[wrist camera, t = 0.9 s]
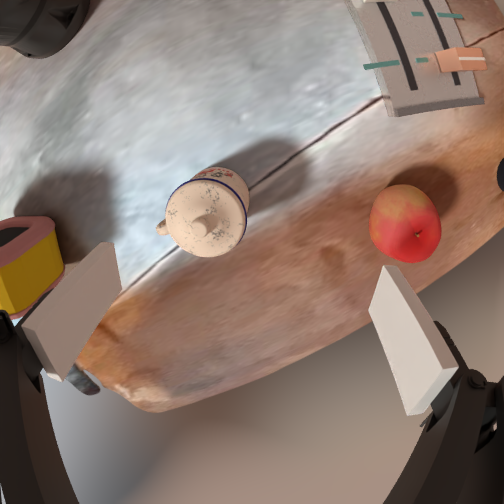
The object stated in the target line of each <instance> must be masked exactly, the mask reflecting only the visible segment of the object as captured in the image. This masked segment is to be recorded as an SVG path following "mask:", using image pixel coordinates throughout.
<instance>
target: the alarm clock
mask: <svg viewBox="0 0 504 504" xmlns="http://www.w3.org/2000/svg"><path fill="white" fill-rule="evenodd" d="M64 272H65V265H64V264H63V261H62V257H61V253H60V249H59V245H58V241H57V237H56V232H55V223H54V221H53V220H52V219H51V218H49V217H45V216H19V217H12V218H8V219H5V220H2V221H0V310H1V309H2V310H5V311H7V312H8V314H9V316H10V319H11V320H13V319H18V318H20V317H22V316H24V315H25V314H26V313H27V312H28V311H29V310H30V308H32V306H33V305H34V304H35V303H37V301H38V300H39V298H40V297H41V296H42V295H43V294H44V293H46V292H48V291H49V290H51V289H52V288H55V287H56V286H57V284H58V283H59V282H60V280H61V279H62V277H63V276H64Z"/></svg>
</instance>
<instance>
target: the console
mask: <svg viewBox="0 0 504 504" xmlns="http://www.w3.org/2000/svg"><path fill="white" fill-rule="evenodd" d="M344 2H345V4H346V6H347V8H348V10H349V12H350V14H351V16H352V18H353V20H354V23H355V25H356V27H357V29H358V32H359V34H360V36H361V39H362V41H363V43H364V46H365V48H366V51H367V53H368V56H369V59H370V61H371V64H364V65H363V66H364V69H365V70H367V69H374V72H375V75H376V78H377V81H378V84H379V87H380V90H381V93H382V96H383V99H384V103H385V106H386V110H387V113H388V116H392V117H401V116H406V115H412V114H417V113H423V112H429V111H435V110H441V109H448V108H455V107H463V106H471V105H480V104H485V103H484V99H483V97H479V94H478V90H477V86H476V82H475V79H474V75H473V72H472V71H463V72H444V73H442V71H441V67H440V64H439V61H438V58H437V56H436V53H435V52H438V51H442V50H446V49H450V48H454V47H464V44H463V41H462V39H461V36H460V33H459V31H458V28H457V26H456V24H455V21H454V19H453V18H461V19H463V17H462V15H461V14H451V12H450V10H449V8H448V6H447V4H446V2H445V0H398V1H395V2H369V3H364V2H363V0H344ZM464 48H465V47H464Z"/></svg>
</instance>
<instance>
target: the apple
mask: <svg viewBox="0 0 504 504" xmlns="http://www.w3.org/2000/svg"><path fill="white" fill-rule="evenodd" d="M369 231H370V236H371V239H372V241H373V243H374V244H375V246H376V247H377V248H378V249H379V250H380V251H381V252H383V253H384V254H386V255H388V256H390V257H392V258H394V259H396V260H399V261H402V262H407V263H416V262H421V261H424V260H426V259H427V258H429V257H430V256H431V255H432V253H433V252H434V251H435V249H436V248H437V246H438V244H439V241H440V239H441V223H440V218H439V215H438V212H437V210H436V208H435V206H434V204H433V203H432V201H431V200H430V199H429V198H428V196H427V195H426V194H425V193H424V192H422V191H421V190H419V189H418V188H416V187H414V186H411V185H393V186H390V187H387V188H385V189H384V190H382V191H381V192H380V193H379V194H378V196H377V198H376V199H375V201H374V204H373V206H372V209H371V213H370V218H369Z"/></svg>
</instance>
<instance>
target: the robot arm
mask: <svg viewBox="0 0 504 504" xmlns="http://www.w3.org/2000/svg"><path fill="white" fill-rule="evenodd" d="M89 2H90V0H0V46H9V47H11V48H13V49H14V50H16V51H18V52H19V53H21V54H23V55H24V56H26V57H28V58H36V59H43V58H47V57H49V56H52V55H53V54H55V53H57V52H58V51H59V50H61V49H62V48H63V47H64V46H65V45H66V44H67V43H68V42H69V41H70V40H71V39H72V37H73V36H74V35H75V34H76V32H77V31H78V29H79V28H80V26H81V24H82V22H83V20H84V18H85V16H86V13H87V11H88V7H89ZM121 290H122V286H121V281H120V276H119V271H118V265H117V260H116V254H115V248H114V243H109V242H101V243H99V244H98V245H97V246H96V247H95V248H94V249H93V250H92V251H91V252H90V253H89V254H88V255H87V256H86V257H85V258H84V259H83V260H82V261H81V262H80V263H79V264H78V265H77V266H76V267H75V268H74V269H73V270H72V271H71V272H70V273H69V274H68V275H67V276H66V277H65V278H64V279H63V280H62V281H61V282H60V283H59V284H58V285H57V286H56V287H55V288H52V289H51V290H49V291H48V292H46V293H44V294H43V295H42V296H41V297H40V298H39V300H38V301H37V303H35V304H34V305H33V306H32V308H30V310H29V311H28V312H27V313H26V314H25V315H24V316H23V318H22V319H21V320H20V321H19V322H18V323H17V325H16V326H15V327H14V325H13V323H12V321H11V319H10V316H9V314H8V312H7V311H5V310H2V309H1V310H0V483H1V487H2V491H3V495H4V498H5V502H6V504H79V502H78V500H77V497H76V495H75V493H74V490H73V488H72V485H71V483H70V480H69V478H68V475H67V472H66V470H65V467H64V464H63V461H62V458H61V455H60V451H59V448H58V445H57V441H56V438H55V434H54V431H53V427H52V423H51V419H50V414H49V410H48V405H47V400H46V395H45V389H44V384H43V378H42V376H41V374H40V372H41V370H42V368H44V369H45V371H46V373H47V374H48V376H49V377H51V378H53V379H56V380H58V381H61V382H63V381H64V379H65V377H66V376H67V374H68V372H69V370H70V369H71V367H72V365H73V364H74V362H75V360H76V359H77V357H78V355H79V354H80V352H81V350H82V349H83V347H84V346H85V344H86V342H87V341H88V339H89V338H90V336H91V335H92V333H93V331H94V330H95V328H96V327H97V325H98V324H99V322H100V321H101V319H102V318H103V316H104V315H105V313H106V312H107V310H108V309H109V307H110V306H111V304H112V303H113V302H114V300H115V299H116V297H117V296H118V294H119V293H120V291H121ZM368 311H369V313H370V316H371V318H372V320H373V323H374V325H375V328H376V330H377V333H378V335H379V338H380V340H381V343H382V345H383V348H384V351H385V353H386V356H387V359H388V361H389V364H390V367H391V369H392V372H393V375H394V378H395V381H396V384H397V386H398V389H399V392H400V395H401V398H402V401H403V404H404V408H405V411H406V414H407V416H410V415H416V414H421V413H423V412H424V411H425V410H426V409H427V408H428V407H429V405H430V404H431V407H432V409H433V411H432V413H431V414H430V415H429V416H428V417H427V418H426V419H425V420H424V421H423V422H422V424H421V425H420V427H422V426H423V425H424V424H425V423H426V424H425V427H424V429H423V431H422V433H421V436H420V438H419V440H418V442H417V444H416V446H415V448H414V451H413V453H412V454H411V456H410V458H409V460H408V462H407V464H406V466H405V468H404V470H403V471H402V473H401V475H400V477H399V478H398V480H397V482H396V484H395V485H394V487H393V489H392V490H391V492H390V494H389V495H388V497H387V498H386V500H385V501H384V503H383V504H504V376H503V377H502V378H501V380H500V381H499V382H498V383H494V382H487V380H486V378H485V377H484V376H483V375H482V374H481V373H480V372H478V371H477V370H474V369H468V367H467V365H466V363H465V361H464V360H463V358H462V356H461V354H460V352H459V351H458V349H457V347H456V346H454V342H453V341H452V339H450V335H449V334H448V332H447V330H446V329H445V328H444V327H443V326H442V325H441V324H440V323H439V322H438V321H433V320H432V319H431V317H430V315H429V314H428V313H427V311H426V309H425V307H424V306H423V304H422V303H421V301H420V300H419V298H418V297H417V295H416V294H415V292H414V291H413V289H412V288H411V286H410V285H409V283H408V282H407V280H406V279H405V277H404V276H403V274H402V273H401V272H400V270H399V269H398V267H397V266H390V265H383V268H382V271H381V274H380V277H379V280H378V283H377V286H376V289H375V292H374V295H373V298H372V301H371V304H370V307H369V310H368ZM496 422H497V429H496V430H495V431H494V429H493V425H494V424H495V423H496ZM456 502H457V503H456ZM0 504H2V500H1V488H0Z"/></svg>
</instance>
